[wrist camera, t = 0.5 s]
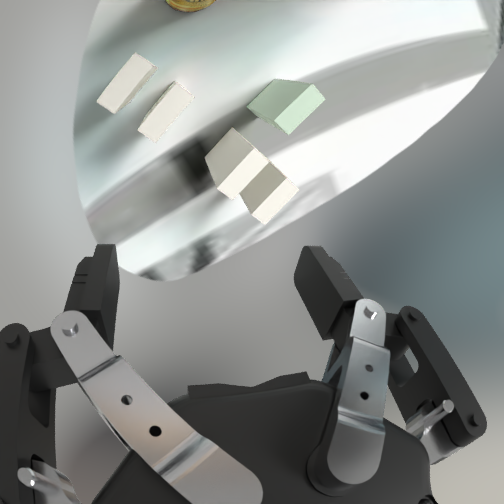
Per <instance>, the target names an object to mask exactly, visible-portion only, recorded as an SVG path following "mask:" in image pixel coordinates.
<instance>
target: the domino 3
mask: <svg viewBox="0 0 504 504" xmlns="http://www.w3.org/2000/svg"><path fill="white" fill-rule="evenodd" d="M204 158H205V160H206V163H207V165H208V168H209V170H210V173H211V175H212V178H213V180H214V183H215V185H216V188H217V189H218V190H220V191H221V192H222V193H224V194H225V195H226V196H228V197H229V198H230V199H231V200H234V198H235V197H236V196H237V195H238V194H239V193H240V192H241V191H242V190H243V189H244V188H245V187H246V186H247V185H248V184H249V182H250V181H251V180H252V179H253V178H254V177H255V176H256V175H257V174H258V173H259V172H260V171H261V170H262V169H263V168H264V167H265V166H266V165H267V164H268V163H269V162H270V161H269V160H267V159H266V158H265V157H264V156H263V155H262V154H261V153H260V152H259V151H258V150H257V149H256V148H255V147H254V146H253V145H252V144H251V143H249V142H248V141H247V140H246V139H245V138H244V137H243V136H242V135H241V134H239V133H238V132H237V131H236V130H235V129H234V128H233V127H232V128H231V129H230V130H229V131H228V132H227V133H226V134H225V135H224V136H223V138H222V139H221V140H220V141H219V142H218V143H217V144H216V145H215V146H214V147H213V148H212V150H211V151H210V152H209V153H208V154H207V155H206V156H205V157H204Z"/></svg>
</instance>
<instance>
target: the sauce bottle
mask: <svg viewBox="0 0 504 504" xmlns="http://www.w3.org/2000/svg"><path fill="white" fill-rule="evenodd" d="M165 1H166V2H167V4H168V5H169V6H171V7H172V8H173V9H175V10H178V11H184V12H196V11H199V10H201V9H204V8H206V7H208V6H210V5H211V4H212V3H214V2H215V1H216V0H165Z"/></svg>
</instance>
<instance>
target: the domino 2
mask: <svg viewBox="0 0 504 504" xmlns="http://www.w3.org/2000/svg"><path fill="white" fill-rule="evenodd" d="M194 98H195V97H194V96H193V95H192V94H191V93H190V92H189V91H188V90H186V89H185V88H184V87H183V86H181V85H180V84H179V83H177V82H176V81H174V82H173V84H172V85H171V86H170V87H169V88H168V89H167V90H166V91H165V93H164V94H163V95H162V96H161V97H160V98H159V100H158V101H157V102H156V103H155V104H154V106H153V107H152V108H151V109H150V110H149V112H148V113H147V114H146V116H145V118H144V119H143V121H142V123H141V124H140V126H139V128H138V131H139V132H140V133H142V134H143V135H145V136H146V137H147V138H149V139H150V140H152V141H153V142H154V143H156V142H157V141H158V140H159V139H160V137H161V136H162V135H163V134H164V132H165V131H166V130H167V129H168V128H169V126H170V125H171V124H172V123H173V122H174V121H175V119H176V118H177V117H178V116H179V115H180V114H181V112H182V111H183V110H184V109H185V108H186V107H187V106H188V105H189V103H190V102H191V101H192V100H193V99H194Z"/></svg>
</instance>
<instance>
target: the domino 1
mask: <svg viewBox="0 0 504 504" xmlns="http://www.w3.org/2000/svg"><path fill="white" fill-rule="evenodd" d="M157 70H158V68H157V67H156V66H155V65H153V64H152V63H151V62H149V61H148V60H147V59H145V58H143V57H142V56H140V55H139V54H137V53H134V54H133V55H132V56H131V58H130V59H129V60H128V61H127V62H126V63H125V65H124V66H123V67H122V68H121V69H120V71H119V72H118V73H117V74H116V76H115V77H114V78H113V80H112V81H111V82H110V83H109V85H108V86H107V87H106V89H105V90H104V91H103V93H102V94H101V96H100V97H99V98H98V100H97V101H96V102H97V103H99V104H100V105H102V106H103V107H105V108H106V109H108V110H109V111H110V112H112V113H113V114H115V113H116V112H118V111H119V110H120V109H122V108H123V107H124V106H126V105H127V104H129V103H130V102H131V101H132V99H133V98H134V97H135V96H136V94H137V93H138V92H139V91H140V89H141V88H142V87H143V86H144V85H145V83H146V82H147V81H148V80H149V79H150V78H151V76H152V75H153V74H154V73H155V72H156V71H157Z"/></svg>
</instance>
